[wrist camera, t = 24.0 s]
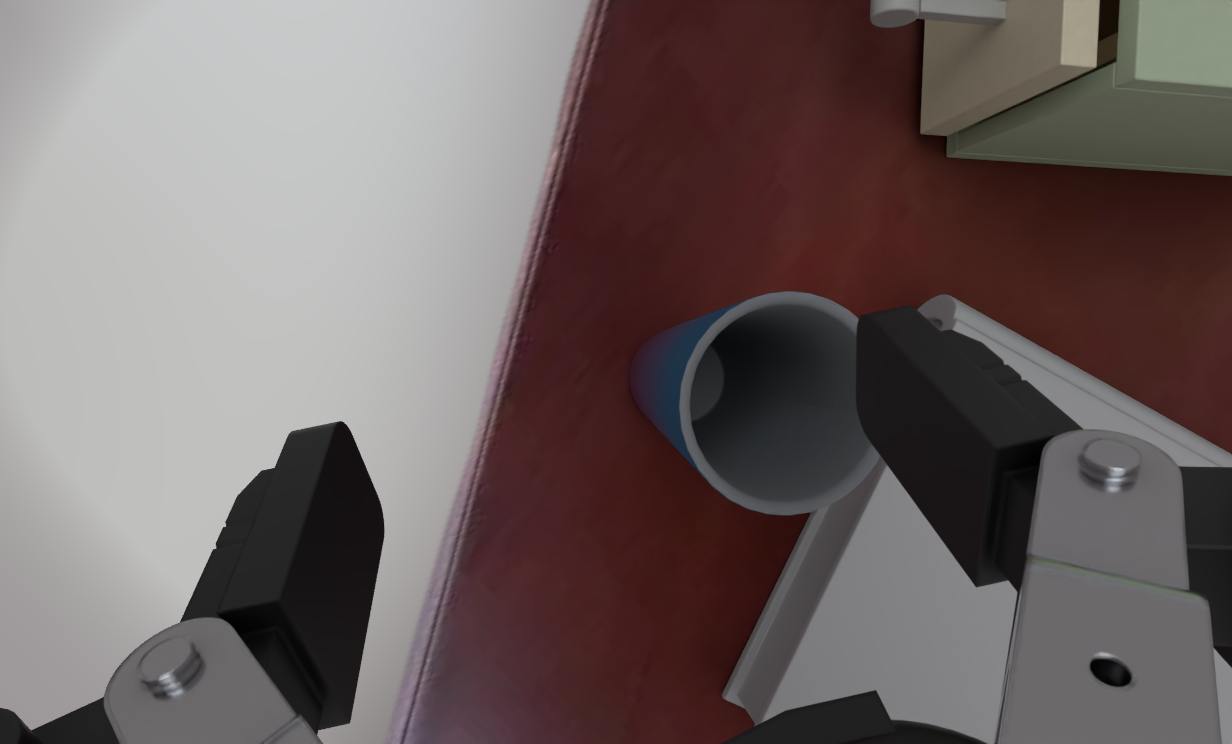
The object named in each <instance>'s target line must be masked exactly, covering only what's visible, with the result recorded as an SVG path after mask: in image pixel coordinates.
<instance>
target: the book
mask: <svg viewBox="0 0 1232 744" xmlns="http://www.w3.org/2000/svg"><path fill="white" fill-rule="evenodd" d="M918 311H919V312H920V313H921V314H922V315H923V316H924V317H925V318H926V319H928V320H929V321H930V322H931V323H932V324H933V325H934V326H935V327H936V328H937V329H939V330H940V331H944V330H949V329H951V330H954V331H956V332H959V333H961V334H963V335H966V336H968V337H971V338H973V339H975V340H978V341H980V342H982V343H984V344H985V345H986V346H987V347H988V348H989V349H991V350H992V351H993V352H994V353H995V354H996V355H998V356H999V357H1000V358H1001V359H1002V360H1003V361H1004V364H1005V365H1007V364H1008V365H1009V366H1010V367H1012V368H1013V369H1014V370H1015V371H1016V372H1017V373H1019V374H1020V375H1021V378H1022V380H1027V381H1028V382H1029V383H1030V384H1032V385H1033V386H1034V387H1035V388H1036V389H1037V390H1039V391H1040V392H1041V393H1042V394H1043V395H1044V396H1046V397H1047V398H1048V399H1049V400H1050V401H1051V402H1053V403H1054V404H1055V405H1056V406H1057V407H1058V408H1060V409H1061V410H1062V411H1063V412H1064V413H1065V414H1067V415H1068V416H1069V417H1070V418H1071V419H1072V420H1074V421H1075V422H1076V423H1077V424H1078V425H1079V426H1081V427H1082V428H1083V429H1100V430H1109V431H1115V432H1120V433H1124V434H1128V435H1131V436H1135V437H1137V438H1140V439H1142V440H1145V441H1147V442H1149V443H1151V444H1153V445H1155V446H1157V447H1158V448H1160V449H1161V450H1163V451H1164V452H1165V453H1167V454H1168V455H1169V456H1170V457H1171V458H1172V459H1173V460H1174V461H1175V462H1176V464H1177V465H1178V466H1185V467H1232V454H1230V453H1228V452H1227V451H1225V450H1223V449H1221V448H1219V447H1218V446H1216V445H1214V444H1212V443H1211V442H1209V441H1207V440H1205V439H1204V438H1202V437H1200V436H1198V435H1196V434H1195V433H1193V432H1191V431H1189V430H1188V429H1186V428H1184V427H1182V426H1180V425H1179V424H1177V423H1175V422H1173V421H1172V420H1170V419H1168V418H1166V417H1164V416H1163V415H1161V414H1159V413H1157V412H1156V411H1154V410H1152V409H1150V408H1148V407H1147V406H1145V405H1143V404H1141V403H1140V402H1138V401H1136V400H1134V399H1133V398H1131V397H1129V396H1127V395H1125V394H1124V393H1122V392H1120V391H1118V390H1117V389H1115V388H1113V387H1111V386H1109V385H1108V384H1106V383H1104V382H1102V381H1101V380H1099V379H1097V378H1095V377H1093V376H1092V375H1090V374H1088V373H1086V372H1085V371H1083V370H1081V369H1079V368H1078V367H1076V366H1074V365H1072V364H1070V363H1069V362H1067V361H1065V360H1063V359H1062V358H1060V357H1058V356H1056V355H1054V354H1053V353H1051V352H1049V351H1047V350H1046V349H1044V348H1042V347H1040V346H1038V345H1037V344H1035V343H1033V342H1031V341H1030V340H1028V339H1026V338H1024V337H1022V336H1021V335H1019V334H1017V333H1015V332H1014V331H1012V330H1010V329H1008V328H1007V327H1005V326H1003V325H1001V324H999V323H998V322H996V321H994V320H992V319H991V318H989V317H987V316H985V315H983V314H982V313H980V312H978V311H976V310H975V309H973V308H971V307H969V306H967V305H966V304H964V303H962V302H960V301H959V300H957V299H955V298H953V297H951V296H949V295H939V296H936V297H934V298H932V299H930V300H928V301H927V302H925V303H924V304H923V305H922V306H921V307H919V308H918ZM1016 597H1017V591H1016V590H1015V588H1014V587H1013V586H1012V585H1011V583H1010V582H1009V581H1004V582H999V583H995V584H990V585H986V586H981V587H977V588H976V587H975V585H974V584H973V583H972V581H971V580H970V578H969V577H968V576H967V574H966V573H965V572H964V570H963V569H962V567H961V566H960V565H959V563H958V562H957V561H956V559H955V558H954V556H953V555H952V554H951V552H950V551H949V550H948V548H947V547H946V545H945V544H944V543H943V541H942V540H941V538H940V537H939V536H938V534H937V533H936V532H935V530H934V529H933V527H932V526H931V525H930V523H929V522H928V521H927V519H926V518H925V516H924V515H923V514H922V512H921V511H920V510H919V508H918V507H917V505H916V504H915V503H914V501H913V500H912V499H911V497H910V496H909V494H908V493H907V492H906V490H905V489H904V488H903V486H902V485H901V483H900V482H899V481H898V479H897V478H896V477H895V475H894V474H893V472H892V471H891V470H890V468H889V467H888V466H887V464H886V463H885V461H884V460H883V459H882V457H881V456H880V457H879V459H878V461H877V463H876V464H875V466H874V467H873V468H872V470H871V471H870V472H869V474H868V475H867V476H866V478H865V479H864V480H863V481H862V482H861V483H860V484H859V485H858V486H856V487H855V488H854V489H853V490H852V491H851V492H850V493H849V494H847V495H846V496H844V497H842V498H841V499H839V500H837V501H836V502H834V503H832V504H831V505H829V506H826V507H823V508H820V509H818V510H815V511H812V512H811V513H810V515H809V517H808V519H807V522H806V524H805V526H804V528H803V530H802V532H801V534H800V536H799V538H798V540H797V542H796V544H795V546H794V548H793V550H792V552H791V554H790V556H789V558H788V560H787V562H786V564H785V566H784V568H783V570H782V573H781V575H780V577H779V579H778V581H777V583H776V585H775V587H774V589H773V591H772V593H771V595H770V597H769V599H768V601H767V603H766V605H765V607H764V609H763V611H762V613H761V615H760V617H759V619H758V621H757V624H756V626H755V628H754V630H753V632H752V634H751V636H750V638H749V640H748V642H747V644H746V646H745V648H744V650H743V652H742V654H741V656H740V658H739V660H738V662H737V664H736V666H735V668H734V670H733V672H732V675H731V677H730V679H729V681H728V683H727V685H726V687H725V689H724V691H723V693H722V697H723V698H724V699H725V700H727V701H729V702H732V703H734V704H736V705H738V706H741V707H743V708H745V709H746V711H747V712H748V714H749V715H750V717H751V718H752V720H753V721H754V723H755V725H754V726H756V725H758V724H760V723H762V722H764V721H766V720H768V719H770V718H772V717H774V716H776V715H778V714H780V713H782V712H784V711H786V710H790V709H794V708H799V707H803V706H807V705H812V704H816V703H821V702H825V701H830V700H834V699H839V698H843V697H848V696H852V695H856V694H861V693H865V692H870V691H874V690H876V691H877V693H878V695H879V697H880V699H881V701H882V703H883V705H884V707H885V709H886V711H887V713H888V715H889V717H890V719H891V720H907V721H914V722H921V723H928V724H932V725H936V726H940V727H944V728H948V729H952V730H955V731H957V732H960V733H963V734H966V735H969V736H971V737H974V738H977V739H979V740H981V741H983V742H985V743H988V744H993V742H994V736H995V730H996V724H997V718H998V711H999V705H1000V699H1001V692H1002V686H1003V679H1004V673H1005V666H1006V660H1007V654H1008V647H1009V641H1010V634H1011V628H1012V621H1013V615H1014V609H1015V603H1016ZM1213 649H1214V648H1213ZM1214 660H1215V671H1216V683H1217V694H1218V705H1219V716H1220V728H1221V739H1222V744H1232V668H1231V667H1230V666H1229V665H1228V663H1227V662H1226V661H1225V660H1224V659H1223V658H1222V657H1221V656H1220V655H1219V654H1218V652H1217V651H1216V650H1215V649H1214Z"/></svg>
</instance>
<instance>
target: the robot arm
mask: <svg viewBox="0 0 1232 744" xmlns="http://www.w3.org/2000/svg"><path fill="white" fill-rule="evenodd" d="M856 407H857V413H858V417H859V420H860V423H861V426H862V429H863V431H864V433H865V435H866V436H867V438H868V439H869V441H870V442H871V444H872V445H873V446H874V448H875V449H876V450H877V452H878V453H879V455H880V456H881V457H882V459H883V460H884V461H885V463H886V464H887V466H888V467H889V468H890V470H891V471H892V472H893V474H894V475H895V477H896V478H897V479H898V481H899V482H900V483H901V485H902V486H903V488H904V489H905V490H906V492H907V493H908V494H909V496H910V497H911V499H912V500H913V501H914V503H915V504H916V505H917V507H918V508H919V510H920V511H921V512H922V514H923V515H924V516H925V518H926V519H927V521H928V522H929V523H930V525H931V526H932V527H933V529H934V530H935V532H936V533H937V534H938V536H939V537H940V538H941V540H942V541H943V543H944V544H945V545H946V547H947V548H948V550H949V551H950V552H951V554H952V555H953V556H954V558H955V559H956V561H957V562H958V563H959V565H960V566H961V567H962V569H963V570H964V572H965V573H966V574H967V576H968V577H969V578H970V580H971V581H972V583H973V584H974V585H975V587H976V588H977V587H981V586H986V585H990V584H995V583H999V582H1004V581H1009V582H1010V583H1011V585H1012V586H1013V587H1014V588H1015V590H1016V591H1017V597H1016V603H1015V609H1014V615H1013V621H1012V628H1011V634H1010V641H1009V647H1008V654H1007V660H1006V666H1005V673H1004V679H1003V686H1002V692H1001V699H1000V705H999V711H998V718H997V724H996V730H995V736H994V742H993V744H1222V739H1221V728H1220V716H1219V705H1218V694H1217V683H1216V671H1215V660H1214V649H1215V650H1216V651H1217V652H1218V654H1219V655H1220V656H1221V657H1222V658H1223V659H1224V660H1225V661H1226V662H1227V663H1228V665H1229V666H1230V667H1231V668H1232V467H1185V466H1178V465H1177V464H1176V462H1175V461H1174V460H1173V459H1172V458H1171V457H1170V456H1169V455H1168V454H1167V453H1165V452H1164V451H1163V450H1161V449H1160V448H1158V447H1157V446H1155V445H1153V444H1151V443H1149V442H1147V441H1145V440H1142V439H1140V438H1137V437H1135V436H1131V435H1128V434H1124V433H1120V432H1115V431H1109V430H1100V429H1083V428H1082V427H1081V426H1079V425H1078V424H1077V423H1076V422H1075V421H1074V420H1072V419H1071V418H1070V417H1069V416H1068V415H1067V414H1065V413H1064V412H1063V411H1062V410H1061V409H1060V408H1058V407H1057V406H1056V405H1055V404H1054V403H1053V402H1051V401H1050V400H1049V399H1048V398H1047V397H1046V396H1044V395H1043V394H1042V393H1041V392H1040V391H1039V390H1037V389H1036V388H1035V387H1034V386H1033V385H1032V384H1030V383H1029V382H1028V381H1027V380H1022V378H1021V375H1020V374H1019V373H1017V372H1016V371H1015V370H1014V369H1013V368H1012V367H1010V366H1009V365H1008V364H1007V365H1005V364H1004V361H1003V360H1002V359H1001V358H1000V357H999V356H998V355H996V354H995V353H994V352H993V351H992V350H991V349H989V348H988V347H987V346H986V345H985V344H984V343H982V342H980V341H978V340H975V339H973V338H971V337H968V336H966V335H963V334H961V333H959V332H956V331H954V330H951V329H949V330H944V331H940V330H939V329H937V328H936V327H935V326H934V325H933V324H932V323H931V322H930V321H929V320H928V319H926V318H925V317H924V316H923V315H922V314H921V313H920V312H919V311H918V310H917V309H915V308H914V307H912V306H904V307H899V308H894V309H890V310H885V311H880V312H875V313H870V314H865V315H862V316H861V317H860V318H859V320H858V323H857V333H856ZM383 540H384V519H383V512H382V507H381V504H380V500H379V498H378V495H377V493H376V490H375V488H374V486H373V483H372V481H371V478H370V476H369V474H368V471H367V469H366V466H365V464H364V462H363V459H362V457H361V454H360V452H359V450H358V447H357V445H356V443H355V440H354V438H353V435H352V433H351V431H350V429H349V428H348V426H347V425H346V424H345V423H344V422H341V421H339V422H335V423H330V424H325V425H320V426H315V427H311V428H305V429H301V430H296V431H292V432H291V433H290V434H289V435H288V437H287V439H286V442H285V444H284V447H283V449H282V452H281V454H280V456H279V459H278V461H277V464H276V466H275V468H272V469H268V470H263V471H261V472H260V473H259V474H258V475H257V476H256V477H255V478H254V479H253V480H252V481H251V482H250V483H249V484H248V486H246V488H245V489H244V490H243V491H242V492H241V493H240V494H239V495H238V496H237V498H236V500H235V502H234V505H233V507H232V509H231V511H230V513H229V516H228V518H227V520H226V527H223V529H222V531H221V533H220V535H219V538H218V540H217V542H216V549H213V551H212V553H211V555H210V557H209V560H208V562H207V564H206V566H205V568H204V571H203V573H202V575H201V577H200V580H199V582H198V584H197V586H196V588H195V590H194V593H193V595H192V597H191V599H190V601H189V604H188V606H187V608H186V610H185V612H184V615H183V617H182V619H181V621H180V623H178V624H175V625H173V626H171V627H169V628H167V629H165V630H163V631H161V632H159V633H158V634H156V635H154V636H153V637H151V638H150V639H148V640H147V641H145V642H144V643H143V644H141V645H140V646H139V647H138V648H137V649H135V650H134V651H133V652H132V653H131V654H130V655H129V656H128V657H127V658H126V659H125V660H124V661H123V662H122V663H121V665H120V666H119V667H118V668H117V670H116V671H115V673H114V674H113V676H112V677H111V679H110V681H109V683H108V686H107V688H106V691H105V695H104V697H103V698H101V699H99V700H97V701H95V702H92V703H90V704H88V705H86V706H84V707H81V708H79V709H77V710H75V711H73V712H71V713H69V714H66V715H64V716H62V717H60V718H58V719H55V720H53V721H51V722H49V723H47V724H44V725H42V726H40V727H38V728H36V729H34V730H30V729H29V728H28V727H27V726H26V725H25V724H24V723H23V721H22V720H21V719H20V718H19V717H18V716H17V715H16V714H15V713H14V712H12V711H10V710H8V709H3V708H0V744H323V743H322V742H321V740H320V739H319V738H318V736H317V733H318V730H322V729H326V728H331V727H335V726H339V725H344V724H348V723H350V720H351V715H352V709H353V704H354V699H355V693H356V688H357V681H358V677H359V671H360V666H361V660H362V655H363V649H364V644H365V639H366V633H367V627H368V622H369V617H370V611H371V606H372V600H373V595H374V589H375V584H376V578H377V573H378V568H379V562H380V557H381V551H382V545H383ZM1213 648H1214V649H1213ZM721 744H988V743H985V742H983V741H981V740H979V739H977V738H974V737H971V736H969V735H966V734H963V733H960V732H957V731H955V730H952V729H948V728H944V727H940V726H936V725H932V724H928V723H921V722H914V721H907V720H891V719H890V717H889V715H888V713H887V711H886V709H885V707H884V705H883V703H882V701H881V699H880V697H879V695H878V693H877V691H876V690H874V691H870V692H865V693H861V694H856V695H852V696H848V697H843V698H839V699H834V700H830V701H825V702H821V703H816V704H812V705H807V706H803V707H799V708H794V709H790V710H786V711H784V712H782V713H780V714H778V715H776V716H774V717H772V718H770V719H768V720H766V721H764V722H762V723H760V724H758V725H756V726H754V727H753V728H751V729H749V730H747V731H745V732H743V733H741V734H739V735H737V736H735V737H733V738H731V739H729V740H727V741H725V742H723V743H721Z"/></svg>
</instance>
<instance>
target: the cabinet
mask: <svg viewBox="0 0 1232 744" xmlns="http://www.w3.org/2000/svg"><path fill="white" fill-rule="evenodd" d="M946 157H950V158H966V159H981V160H996V161H1011V162H1026V163H1042V164H1057V165H1072V166H1087V167H1102V168H1118V169H1133V170H1148V171H1163V172H1178V173H1193V174H1209V175H1224V176H1232V0H1120V4H1119V23H1118V42H1117V61H1116V62H1115V63H1113V64H1110V65H1108V66H1106V67H1104V68H1102V69H1099V70H1097V71H1095V72H1093V73H1090V74H1088V75H1086V76H1084V77H1082V78H1079V79H1077V80H1075V81H1073V82H1071V83H1068V84H1066V85H1064V86H1062V87H1060V88H1057V89H1055V90H1053V91H1051V92H1049V93H1046V94H1044V95H1042V96H1040V97H1038V98H1035V99H1033V100H1031V101H1029V102H1027V103H1024V104H1022V105H1020V106H1018V107H1016V108H1013V109H1011V110H1009V111H1007V112H1005V113H1002V114H1000V115H998V116H996V117H993V118H991V119H983V120H981V121H979V122H976V123H974V124H972V125H970V126H968V127H966V128H963V129H961V130H959V131H957V132H955V133H952V134H950V135H948V136H947V150H946Z"/></svg>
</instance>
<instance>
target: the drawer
mask: <svg viewBox="0 0 1232 744" xmlns="http://www.w3.org/2000/svg"><path fill="white" fill-rule="evenodd" d="M1119 4H1120V0H871V9H870V21H871V23H872V24H873V25H875V26H878V27H885V28H892V27H899V26H903V25H907V24H909V23H911V22H913V21H915V20H916V19H925V30H924V54H923V77H922V101H921V125H920V134H925V135H940V136H948V135H950V134H952V133H955V132H957V131H959V130H961V129H963V128H966V127H968V126H970V125H972V124H974V123H976V122H979V121H981V120H983V119H991V118H993V117H996V116H998V115H1000V114H1002V113H1005V112H1007V111H1009V110H1011V109H1013V108H1016V107H1018V106H1020V105H1022V104H1024V103H1027V102H1029V101H1031V100H1033V99H1035V98H1038V97H1040V96H1042V95H1044V94H1046V93H1049V92H1051V91H1053V90H1055V89H1057V88H1060V87H1062V86H1064V85H1066V84H1068V83H1071V82H1073V81H1075V80H1077V79H1079V78H1082V77H1084V76H1086V75H1088V74H1090V73H1093V72H1095V71H1097V70H1099V69H1102V68H1104V67H1106V66H1108V65H1110V64H1113V63H1115V62H1116V61H1117V42H1118V23H1119Z"/></svg>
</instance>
